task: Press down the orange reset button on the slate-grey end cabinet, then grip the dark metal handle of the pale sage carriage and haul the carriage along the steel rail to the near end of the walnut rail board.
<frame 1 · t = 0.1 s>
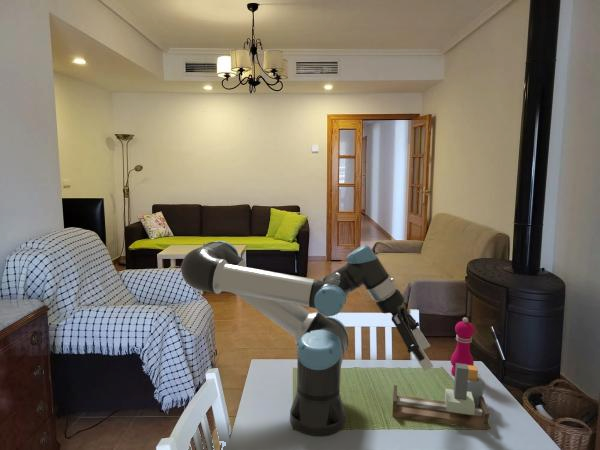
hand: (427, 357, 125), 15 cm above the table, tool tilted 35°, fingers open, 13 cm apart
rail board: (437, 413, 125), on the table
carriage: (460, 386, 122), point 9 cm above the table, slide at 0.0 cm
pepper mill: (461, 375, 148), on the table
reset button: (470, 377, 130), point 8 cm above the table, slide at 0.0 cm
end cabinet: (468, 402, 131), on the table
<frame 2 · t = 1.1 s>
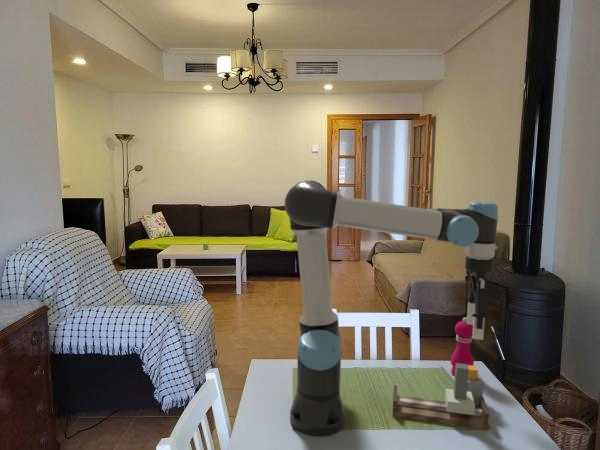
hand: (474, 331, 128), 22 cm above the table, tool pointing down, fingers open, 11 cm apart
nothing on the table moved.
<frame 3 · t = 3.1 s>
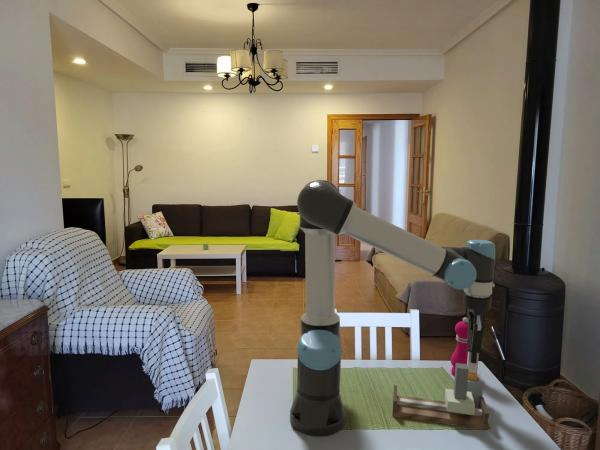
hand: (471, 371, 130), 10 cm above the table, tool pointing down, fingers closed
reset button: (470, 381, 130), point 7 cm above the table, slide at 1.5 cm, touching gripper
everything else where it was.
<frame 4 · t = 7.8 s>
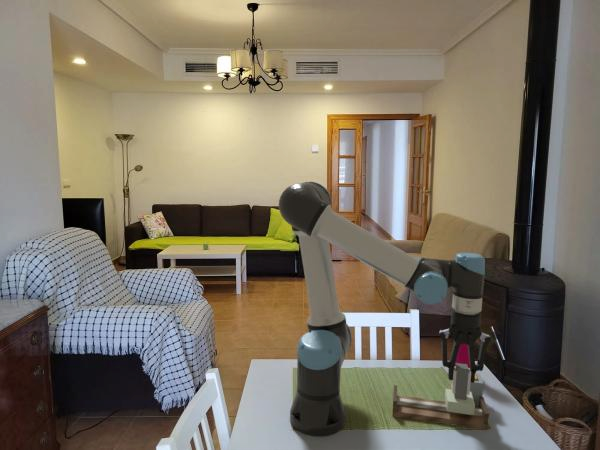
hand: (460, 391, 123), 8 cm above the table, tool pointing down, fingers closed on carriage, 3 cm apart
carriage: (460, 386, 122), point 9 cm above the table, slide at 0.0 cm, touching gripper
reset button: (470, 385, 130), point 5 cm above the table, slide at 2.5 cm
everything else where it was.
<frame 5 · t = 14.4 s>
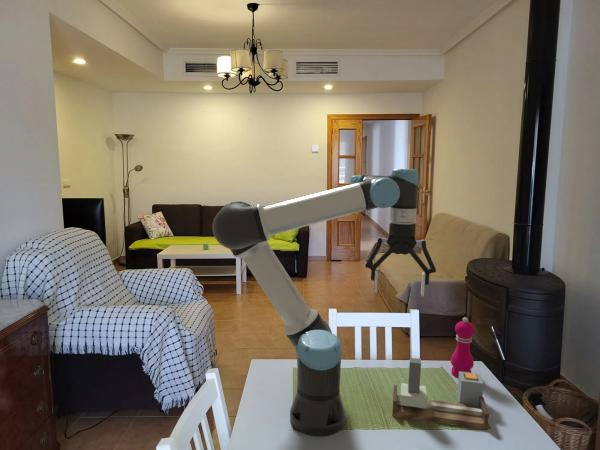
hand: (398, 293, 131), 32 cm above the table, tool pointing down, fingers open, 13 cm apart
carriage: (414, 380, 125), point 9 cm above the table, slide at 12.5 cm
everything else where it was.
at the end: reset button slide at 2.5 cm; carriage slide at 12.5 cm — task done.
